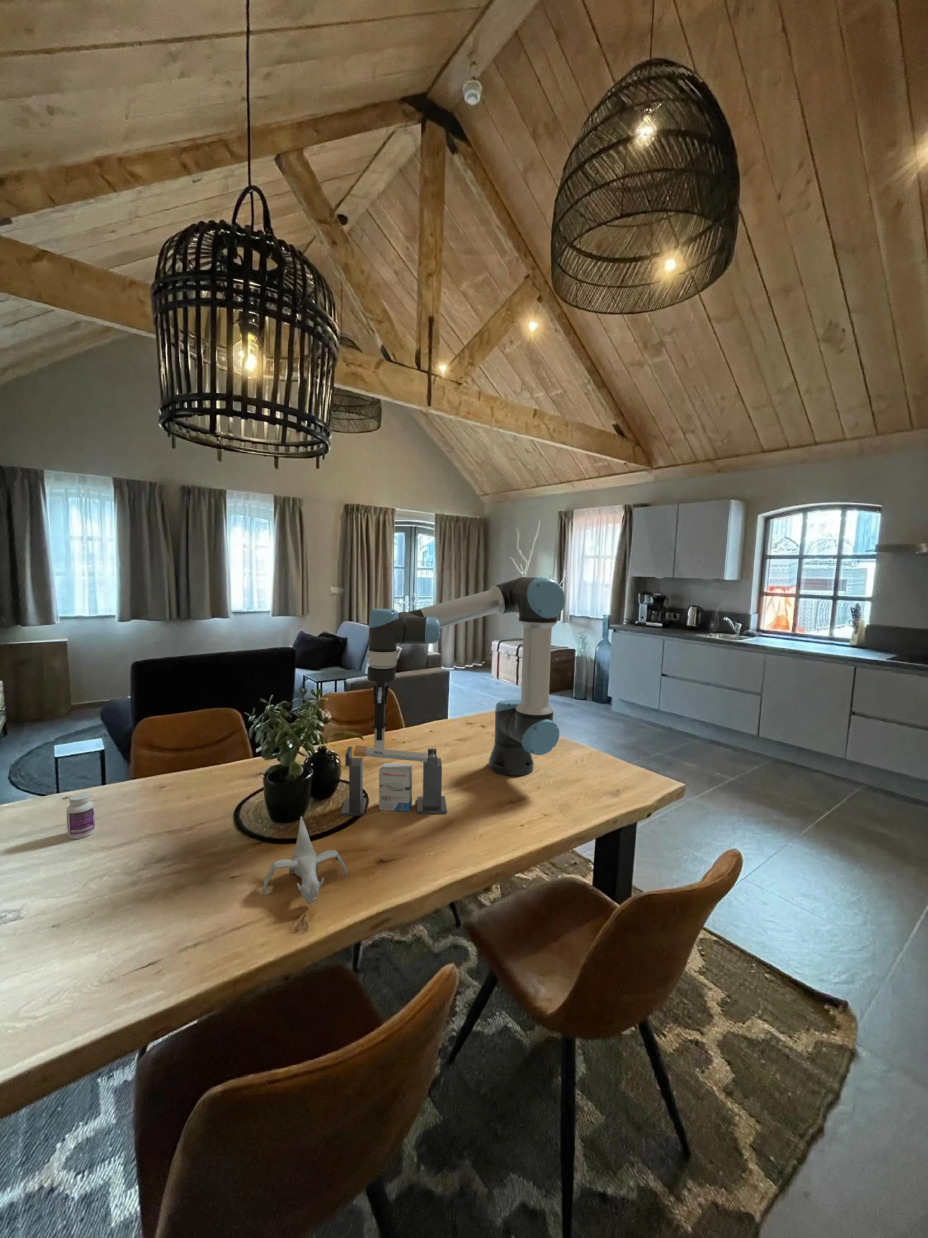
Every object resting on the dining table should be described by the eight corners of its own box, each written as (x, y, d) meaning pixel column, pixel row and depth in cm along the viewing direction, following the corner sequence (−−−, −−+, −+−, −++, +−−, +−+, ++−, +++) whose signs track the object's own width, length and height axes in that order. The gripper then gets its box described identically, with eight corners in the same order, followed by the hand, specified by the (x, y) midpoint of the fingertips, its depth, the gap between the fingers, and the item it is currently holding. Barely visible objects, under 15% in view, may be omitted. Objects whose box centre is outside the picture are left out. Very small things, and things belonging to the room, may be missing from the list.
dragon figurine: (251, 896, 102) (251, 856, 100) (300, 851, 116) (301, 815, 114) (311, 922, 98) (312, 880, 96) (355, 872, 112) (357, 835, 110)
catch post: (366, 800, 144) (366, 744, 143) (363, 815, 136) (363, 756, 134) (345, 801, 144) (345, 745, 142) (340, 816, 135) (340, 756, 133)
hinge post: (444, 798, 147) (445, 747, 145) (446, 813, 138) (447, 758, 136) (417, 799, 146) (418, 747, 144) (417, 814, 137) (418, 759, 136)
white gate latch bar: (434, 758, 143) (435, 752, 143) (435, 765, 138) (436, 758, 138) (355, 750, 141) (356, 744, 141) (353, 757, 136) (354, 751, 136)
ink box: (412, 804, 143) (413, 764, 142) (409, 812, 138) (409, 771, 137) (383, 802, 144) (383, 762, 143) (378, 810, 139) (378, 769, 138)
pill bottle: (100, 830, 125) (98, 793, 124) (78, 841, 120) (76, 802, 119) (85, 826, 127) (83, 790, 126) (62, 837, 122) (60, 798, 121)
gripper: (369, 661, 143) (367, 742, 145) (365, 670, 130) (362, 758, 132) (396, 662, 143) (393, 742, 146) (394, 670, 131) (391, 759, 133)
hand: (379, 750), depth 139 cm, fingers closed
